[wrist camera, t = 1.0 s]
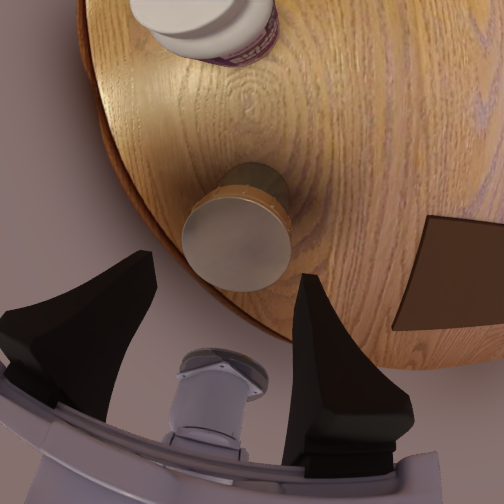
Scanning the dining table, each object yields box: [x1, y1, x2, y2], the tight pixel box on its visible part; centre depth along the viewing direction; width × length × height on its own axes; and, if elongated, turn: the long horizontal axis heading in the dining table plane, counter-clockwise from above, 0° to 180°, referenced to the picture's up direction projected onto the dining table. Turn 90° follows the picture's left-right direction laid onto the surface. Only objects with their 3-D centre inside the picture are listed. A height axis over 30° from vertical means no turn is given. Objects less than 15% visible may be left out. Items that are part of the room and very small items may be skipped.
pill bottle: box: [130, 0, 279, 67], centre depth 10 cm, size 5×5×10 cm
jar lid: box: [182, 184, 292, 292], centre depth 15 cm, size 6×6×2 cm
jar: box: [214, 163, 289, 215], centre depth 17 cm, size 5×5×6 cm
